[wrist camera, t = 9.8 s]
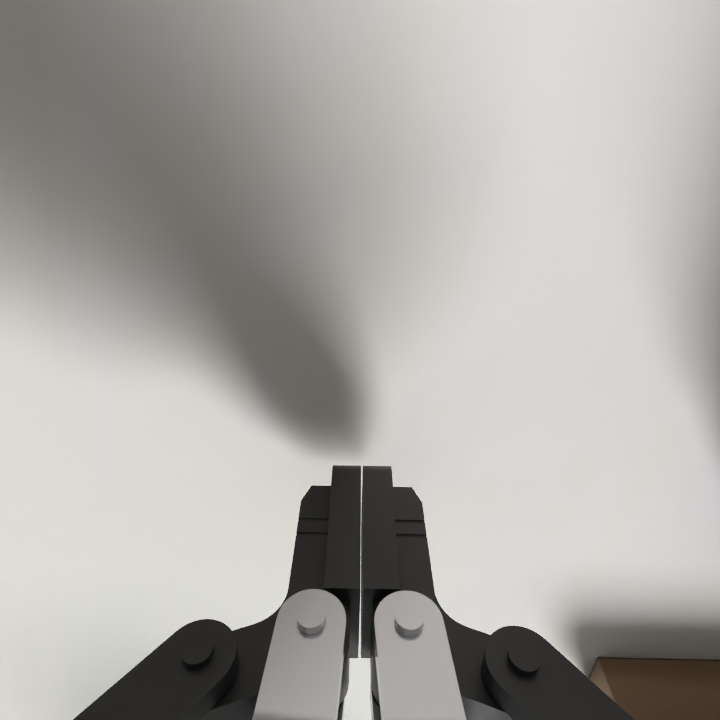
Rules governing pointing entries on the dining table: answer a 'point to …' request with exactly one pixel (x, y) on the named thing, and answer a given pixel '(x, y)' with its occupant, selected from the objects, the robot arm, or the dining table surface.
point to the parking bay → (661, 687)
